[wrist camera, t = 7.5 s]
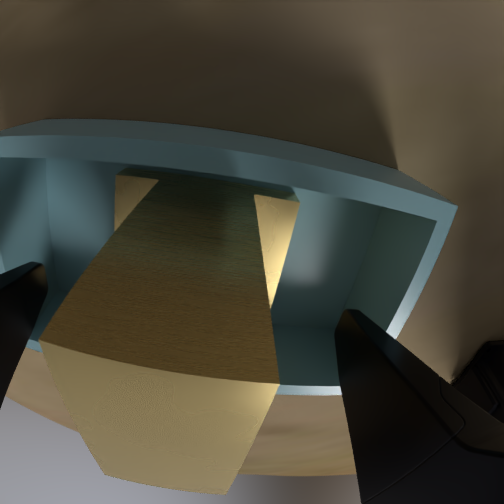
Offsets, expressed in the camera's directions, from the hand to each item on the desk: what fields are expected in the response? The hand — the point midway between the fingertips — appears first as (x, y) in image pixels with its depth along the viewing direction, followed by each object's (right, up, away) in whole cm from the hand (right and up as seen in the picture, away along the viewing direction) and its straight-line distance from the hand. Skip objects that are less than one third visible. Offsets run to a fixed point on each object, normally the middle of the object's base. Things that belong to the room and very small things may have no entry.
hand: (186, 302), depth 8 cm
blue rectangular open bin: (0, +2, +4) cm, 4 cm away
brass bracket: (0, +2, +3) cm, 4 cm away
